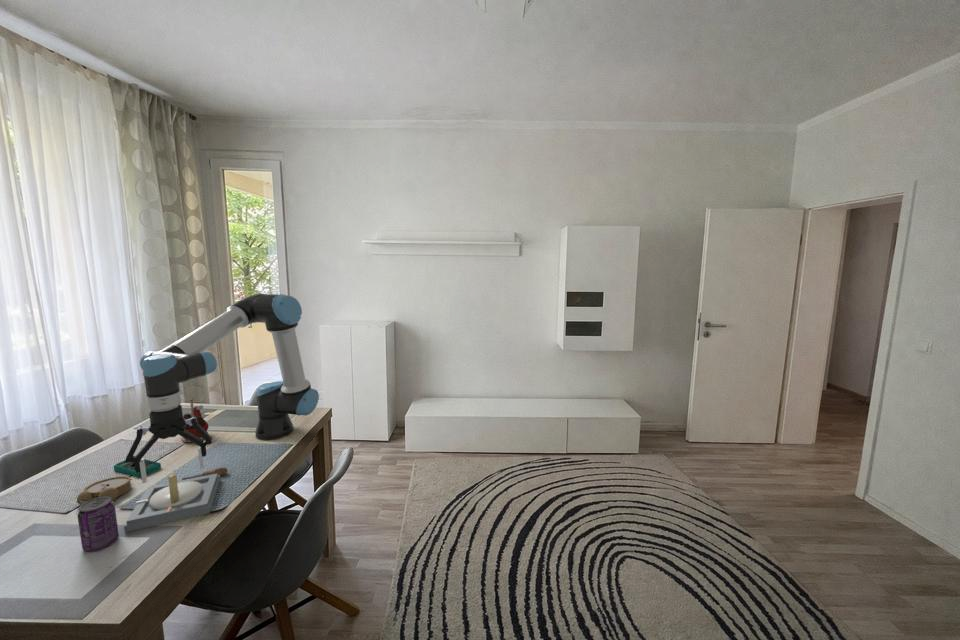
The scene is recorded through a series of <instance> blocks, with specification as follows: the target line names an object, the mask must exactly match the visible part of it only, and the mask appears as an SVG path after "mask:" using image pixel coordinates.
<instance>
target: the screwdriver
mask: <svg viewBox="0 0 960 640" xmlns="http://www.w3.org/2000/svg"><path fill="white" fill-rule="evenodd" d="M217 473H218V475H220V477H221V476H225V475H226V474H227V473H228V469H227V467H218V468H215V469H214V468H213V469H209V470H208V469H207V470H204V471H203V472H202V473H201V474H195V475H190V476H185V477H181V480H186V479H191V478H196V477H201V476H207V475H212V474H217Z"/></svg>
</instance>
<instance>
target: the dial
mask: <svg viewBox="0 0 960 640" xmlns="http://www.w3.org/2000/svg"><path fill="white" fill-rule="evenodd" d="M167 479H168V480H167V481H168V482H167V483H169V486H168V487H165V488H163V489H161V490H159V491H158V492H156V493H155V494H154V495H153V496H152V497H151V498H150V507H151V508H152V509H155V510H165V509H168V507H171V506H172V508H174V507H179V506H183V505H185V504H187V503H189V502H191V501H193V500H194V499H196V498H197V497H198V496H199V495H200V494H201V493H202V485H201V484H200V483H199V482H194V481H188V482H181V483H177V481H178V476H177V473H173V474H169V475H168V477H167Z"/></svg>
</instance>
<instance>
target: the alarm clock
mask: <svg viewBox="0 0 960 640" xmlns="http://www.w3.org/2000/svg"><path fill="white" fill-rule="evenodd" d="M131 481H132V478H131V477H129V476H127V475H126V476H125V475H123V476H115V477H109V478H103V479H102V480H98V481H95V482H94V483H93V482H92V483H91V484H90V485H87V486H85V487H84V489H83V491H81V492H80V493H79V494H78V495H77V498H76V503H77V504H78V505H80V506H81V505H82V504H84V503H86V502H88V501H90V500H93V499H96V498H100V497H111V501H113V502H115V500H116V499H117V498H118V497H120V496H122V495H124V494H126V493H128V492H130V490H131V489H132V484H131Z"/></svg>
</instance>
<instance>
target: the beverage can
mask: <svg viewBox="0 0 960 640" xmlns="http://www.w3.org/2000/svg"><path fill="white" fill-rule="evenodd" d="M114 502H115V501H111V497H100V498H96V499H93V500H90V501H88V502H86V503H84V504H82V505H80V506H79V507H78V510H79V511H78V513H77V522H78V523H77V524H78V527H79V529H78V530H79V535H80V541H81V543H80V544H81V548H82V550H83V551H86V552H92V551H98V550H101V549H104V548H105V547H107V546H109V545H111V544H112V543H114V542H116V541H117V539H118V538H119V537H120V535H119V527H118V519H117V513H116V512H117V511H116V505H115V503H114Z"/></svg>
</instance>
